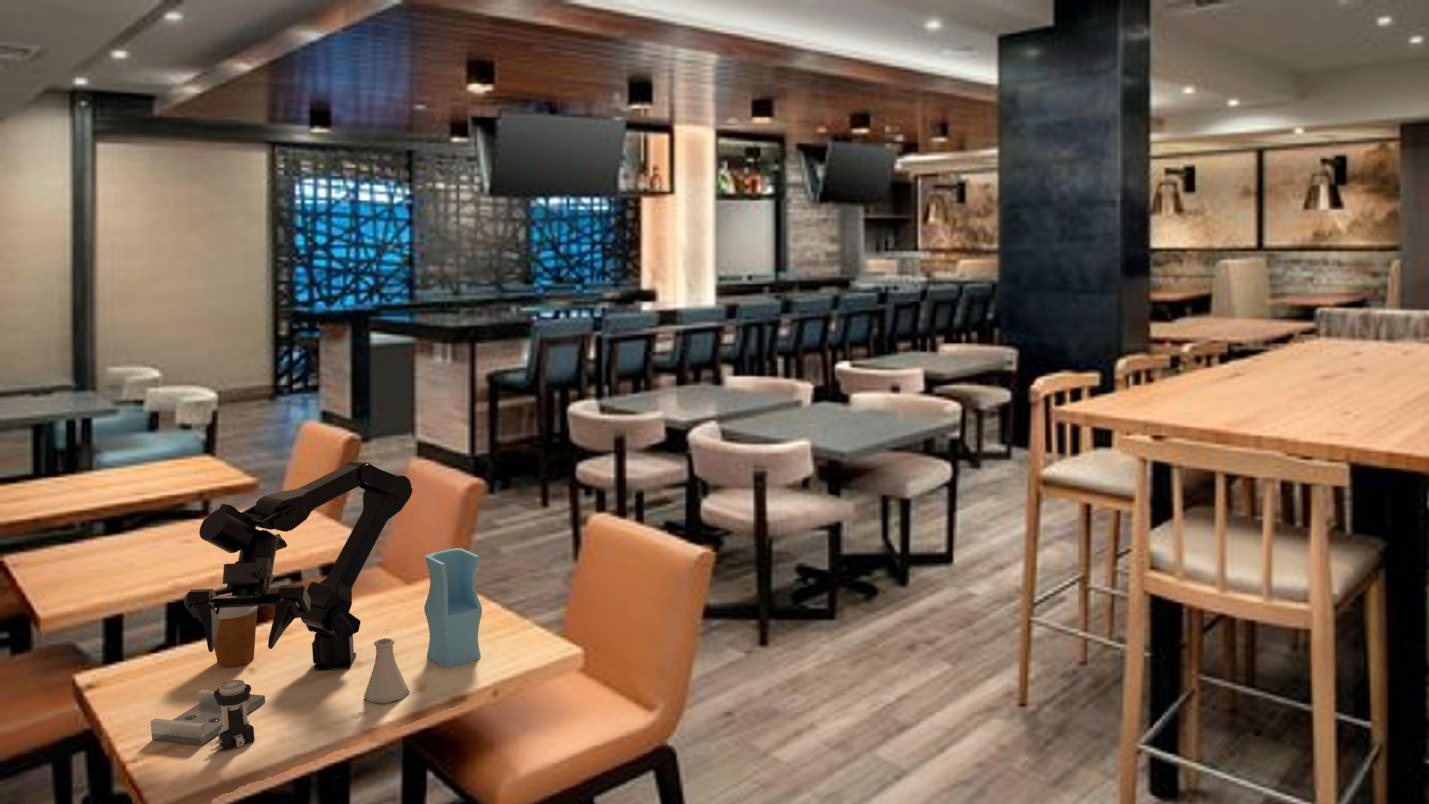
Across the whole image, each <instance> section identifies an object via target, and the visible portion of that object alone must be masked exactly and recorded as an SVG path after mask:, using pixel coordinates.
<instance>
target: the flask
mask: <svg viewBox="0 0 1429 804" xmlns="http://www.w3.org/2000/svg"><path fill="white" fill-rule="evenodd" d="M394 644H395V640H394V639H393V638H389V637H383V638H380V639H377V640H375V641H374V642H373V645H374V646H375V652H376V653H375V658H374V665H373V669H372V671H371V674H370V676H369V677H370V678H369V681H368V683H367V685H366V689H365V692H364V694H363V697H364V698H365V699H366V700H367V701H368V702H369V703H378V704H389V703H392V702H397V701H398V700H402V699H403V698H404V697H406V696H407V695H408V694H409V693H410V690H409V688H408V685H407V683H406V682H405V680H404V677H403V675H402V673H401V671H400V669H399V666H398V663H397V662H396V658H395V654H394Z"/></svg>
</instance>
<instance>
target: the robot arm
mask: <svg viewBox="0 0 1429 804" xmlns="http://www.w3.org/2000/svg"><path fill="white" fill-rule="evenodd" d="M355 488H360V489H361V490H364V491H363V494H362V506H363V507H362V511H361V513H360V516H359V517H358V519H357V521H356V522H355V525H353V529H352V530H351V532H350V534H349V536H348V538H347V540H346V541H345V543H344V545H343V547H342V548H341V550H340V553H339V554H338V556H337V558H336V560H335V562H334V564H333V565H332V567H331V569H330V571H329V572H328V575H327V576H326V577H325V578H324V579H323V580H322V581H319V582H315V581H311V582H310V584H308V586H307V588H306V587H305V586H304V585H303V584H291V585H290V584H288V585H287V584H285V585H280V587H279V588H278V593H270V589H271V582H274V574H273V571H274V566H275V560H276V555H277V554H276V553H277V552H278V551H279V550H282V549H285V548H287V547H288V543H287V542H286V541H285V539H283V538H282V535H281V534H280V533H277V534H275V533H272V532H270V531H269V530H271V531H272V530H275V531H280V532H283V533H284V532H285V533H286V532H291V531H293V530H294V529H296V528H297V527H299V526H300V525H302V524H303V523H304V522H305V521H306V520H308V518H309V517H310V515H311V513H312V512H314V511H315V510H316V509H317V508H319V507H321V506H323V505H325V504H327V503H329V502H332V501H333V500H336V499H337V498H338V497H340V496H342V495H345V494H346V493H349V492H350V491H352V490H354V489H355ZM412 494H413V488H412V483H411V480H410V479H409V478H408V477H407V476H406V475H401V474H396V473H392V472H391V473H390V472H388V471H385V470H383V469H380V468H378V467H377V466H374V465H373V464H371V463H370V462H365V461H359V460H358V461H357V460H351V461H349V462H347V463H346V464H344V466H341V467H339V468H337V469H335V470H333V471H331V472H328V473H326V474H325V475H323V476H320V477H319V478H317V479H315V480H312V481H311V482H309V483H306V484H305V485H303V486H300V487H297V488H295V489H289V490H282V491H277V492H274V493H269V494H266V495H264V496H262V497H260V498H259V499H258V500H257V501H256V503H255V504H254V505H252V506H251V507H248V508H247V509H245V510H243V511H240V510H238V509H237V508H236V507H235V506H234V505H232V504H228V503H221V505H220V507H218V509H216V510H214V511H212V512H211V513H210V514H209V515H207V517H206V518H204V519H203V520H202V523H201V525H200V528H199V530H198V531H199V537H200V538H201V540H202V541H203V540H204V541H205V542H207V543H209V544H211V545H213V546H215V547H217V548H218V549H221V550H223V551H224V552H225V553H228V554H235V553H238V552H239V555H238V559H237V561H235V562H234V563H225V564H223V571H222V572H223V575H222V584H223V585H226V590H227V592H228V593H230V592H231V593H232V594H231V596H220V595H217V593H216V592H215V590H214V589H213V588H199V589H190V590H189V591H187V592H186V594H185V597H184V601H183V605H184V607H185V608H186V610H188V612H189V614H190V615H191V616H192V617H193V618H195V619H198V620H199V622H201V623H202V624H203V628H204V633H205V638H206V644H207V650H208V651H209V652H210V653H213V651H214V650H215V649H214V647H215V643H216V638H217V632H218V627H219V622H220V619H219V617H218V616H217V615H218V614H219V613H220V608H230V607H252V606H258V607H268V606H271V607H273V606H274V616H273V619H272V624H271V628H270V631H269V637H268V643H267V647H268V649H269V650H272V649H273V648H274V646H275V645H276V644H277V642H278V641H279V639H280V638H281V636H282V635H283V633H284V632H285V631H286V629H287V628H288V627H289V626H290V625H291V624H292V623H293V621H294V620H295V619H301V622H302V623H303V624H304V625H306V628H307V630H308V632H312V633H315V634H314V639H313V641H312V643H311V649H312V662H313V664H314V666H313V670H314V671H321V670H323V671H324V670H325V671H326V670H339V669H341V670H342V669H349V668H351V667H352V664H353V663H354V661H355V659H356V657H357V652H355V649H354V634H357V633H359V631H360V626H361V623H362V622H361V620H360V619H359V618H357V617H356V616H354V614H352V613H351V612H350V610H351V608H352V605H353V590H352V589H353V586H354V584H355V583H356V581H357V579H358V578H359V575H360V573H361V571H362V569H363V567H364V566H365V564H366V562H367V560H368V558H369V556H370V554H371V552H372V550H373V548H374V546H375V545H376V543H377V541H378V539H379V537H380V535H381V533H382V531H383V530H384V528H385V526H386V524H387V522H388V521H389V520H390V519H392V518H393V517H394V516H396V515H397V514H399V512H401V511H402V510H403V509H404V507H405V505H406V504H407V503H408V502H409V500H410V498H411V496H412ZM257 528H260V529H261V530H260V529H257Z"/></svg>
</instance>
